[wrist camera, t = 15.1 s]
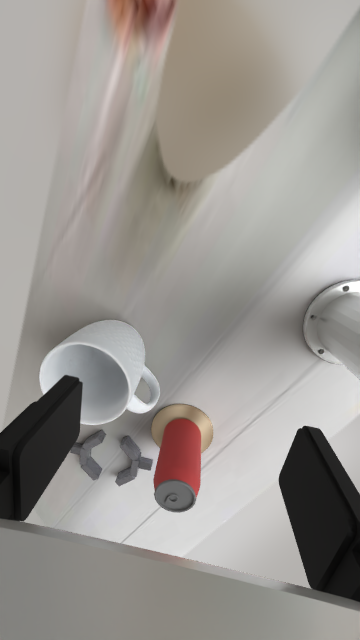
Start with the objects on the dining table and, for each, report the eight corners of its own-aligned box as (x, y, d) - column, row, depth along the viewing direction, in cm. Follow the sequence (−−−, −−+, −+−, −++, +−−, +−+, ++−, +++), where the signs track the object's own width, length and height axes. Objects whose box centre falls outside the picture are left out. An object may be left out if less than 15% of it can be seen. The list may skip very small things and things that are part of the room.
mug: (185, 356, 41) (177, 407, 29) (143, 397, 44) (119, 459, 32) (113, 295, 39) (71, 321, 27) (74, 342, 42) (20, 385, 30)
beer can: (156, 432, 45) (140, 497, 34) (179, 409, 43) (170, 470, 32) (185, 453, 46) (179, 522, 35) (209, 431, 44) (210, 497, 33)
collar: (156, 441, 47) (154, 450, 45) (148, 482, 50) (146, 492, 48) (74, 423, 47) (69, 431, 45) (72, 465, 51) (66, 474, 49)
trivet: (219, 411, 44) (219, 413, 43) (205, 460, 47) (205, 462, 46) (156, 398, 44) (156, 400, 43) (147, 447, 47) (147, 449, 47)
